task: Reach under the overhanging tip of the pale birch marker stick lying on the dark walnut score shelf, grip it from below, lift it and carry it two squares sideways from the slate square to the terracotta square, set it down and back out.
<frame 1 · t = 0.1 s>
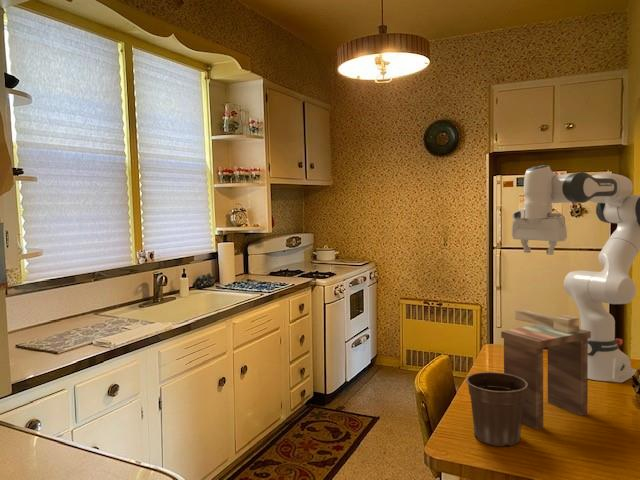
hand: (538, 253, 168), 48 cm above the table, tool pointing down, fingers open, 8 cm apart
plant pot: (496, 437, 138), on the table
marker stick: (538, 323, 160), point 26 cm above the table, touching score shelf
score shelf: (545, 414, 151), on the table
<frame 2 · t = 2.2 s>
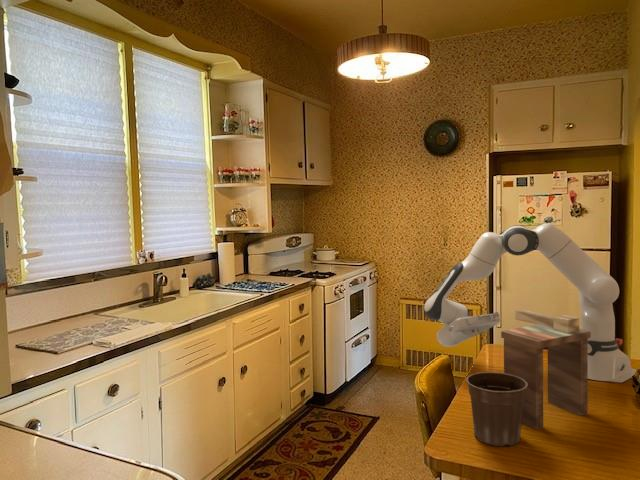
hand: (488, 315, 180), 25 cm above the table, tool pointing upward, fingers open, 8 cm apart
nothing on the table moved.
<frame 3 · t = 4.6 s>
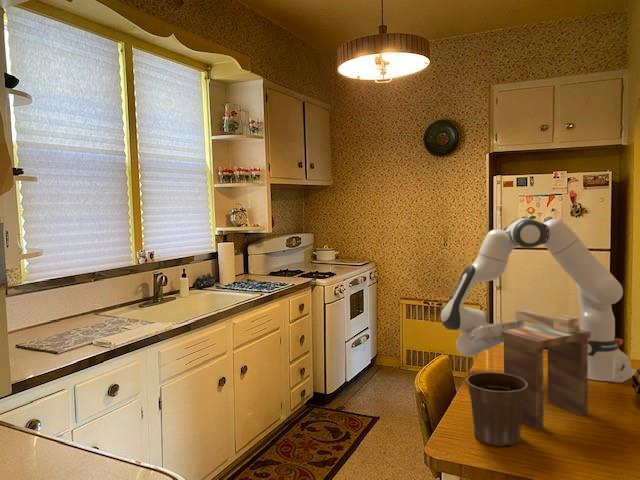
hand: (512, 323, 170), 24 cm above the table, tool pointing upward, fingers open, 8 cm apart
nothing on the table moved.
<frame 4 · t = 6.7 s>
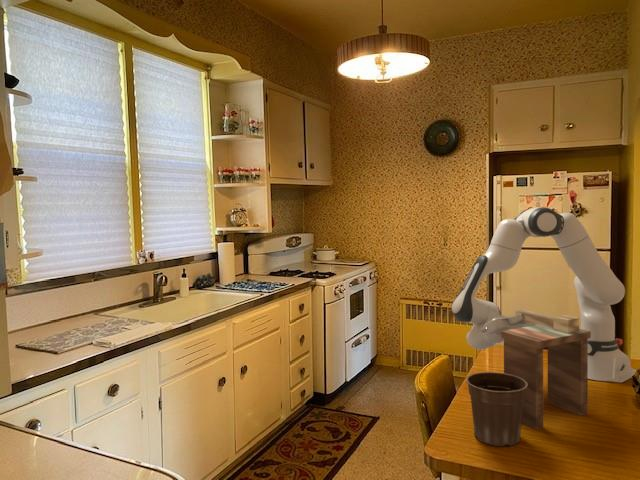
hand: (527, 315, 163), 28 cm above the table, tool pointing upward, fingers closed on marker stick, 3 cm apart
marker stick: (538, 323, 160), point 26 cm above the table, touching gripper, score shelf
everything else where it was.
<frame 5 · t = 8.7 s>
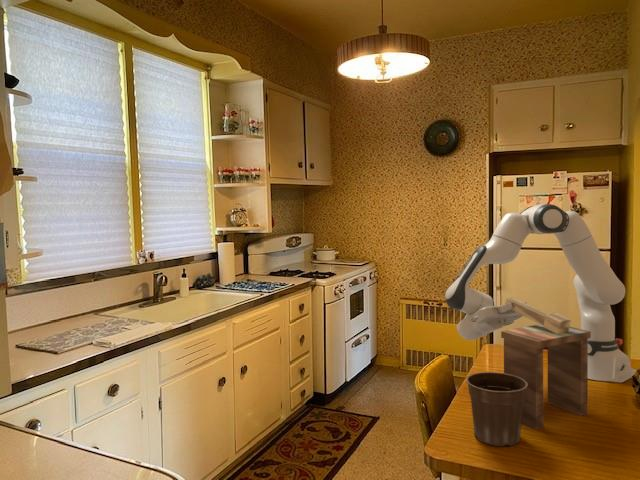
hand: (517, 304, 161), 32 cm above the table, tool pointing upward, fingers closed on marker stick, 3 cm apart
marker stick: (527, 315, 158), point 29 cm above the table, tilted 13°, touching gripper
everything else where it was.
when the fingers open (30 cm above the table, at t = 10.7 s): marker stick stays where it is, resting on score shelf.
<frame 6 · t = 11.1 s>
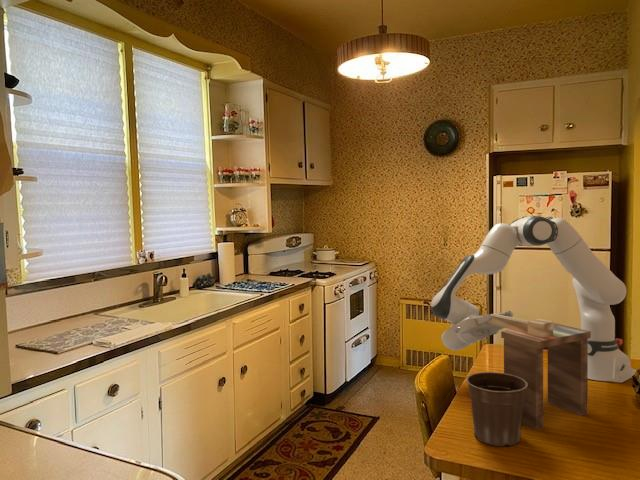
hand: (500, 314, 158), 30 cm above the table, tool pointing upward, fingers open, 8 cm apart
marker stick: (510, 327, 155), point 26 cm above the table, touching score shelf
everything else where it was.
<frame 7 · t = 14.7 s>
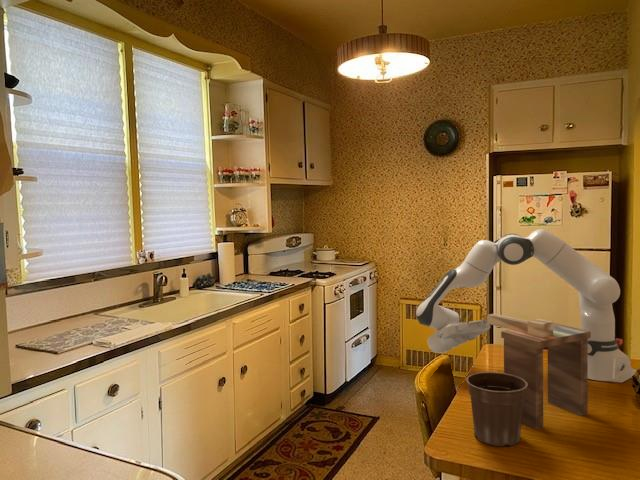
hand: (478, 322, 179), 22 cm above the table, tool pointing upward, fingers open, 8 cm apart
nothing on the table moved.
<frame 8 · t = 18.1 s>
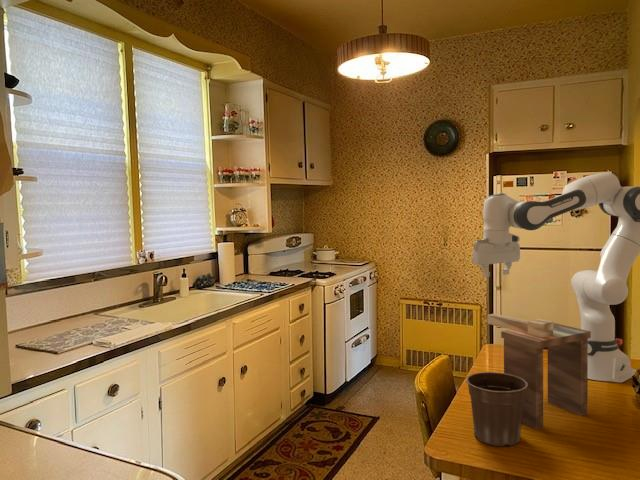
hand: (496, 275, 180), 39 cm above the table, tool pointing down, fingers open, 8 cm apart
nothing on the table moved.
at the end: marker stick inside the target area (0.6 cm from its centre), point 26.1 cm above the table; marker stick tilted 0°; the gripper is holding nothing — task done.
